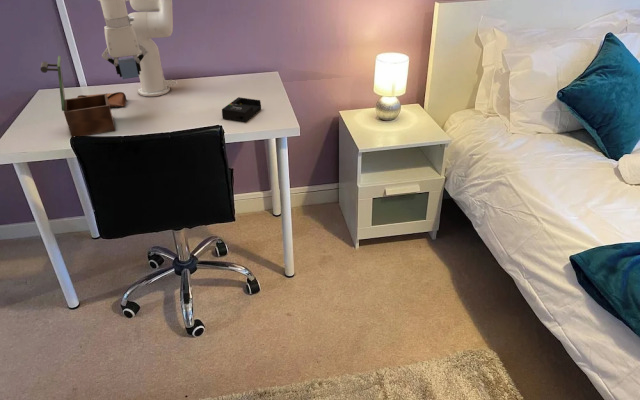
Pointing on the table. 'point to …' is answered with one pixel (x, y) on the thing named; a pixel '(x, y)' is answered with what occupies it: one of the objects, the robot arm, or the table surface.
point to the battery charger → (241, 109)
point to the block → (128, 68)
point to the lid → (60, 75)
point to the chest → (89, 115)
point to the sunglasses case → (113, 99)
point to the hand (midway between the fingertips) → (129, 74)
